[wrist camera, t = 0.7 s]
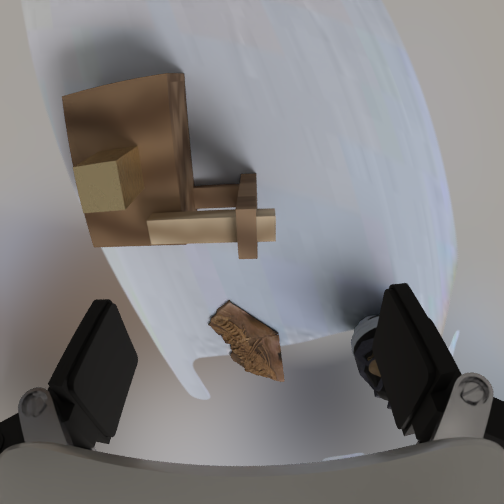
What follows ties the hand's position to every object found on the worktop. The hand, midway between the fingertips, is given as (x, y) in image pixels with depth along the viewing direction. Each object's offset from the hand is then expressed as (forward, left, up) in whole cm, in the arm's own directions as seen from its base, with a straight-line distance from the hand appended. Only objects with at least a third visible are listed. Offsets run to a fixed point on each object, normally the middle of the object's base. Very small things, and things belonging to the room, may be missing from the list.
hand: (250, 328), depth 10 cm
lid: (+1, -15, -27) cm, 31 cm away
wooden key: (+8, -5, -24) cm, 26 cm away
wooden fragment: (+39, -1, -34) cm, 51 cm away
